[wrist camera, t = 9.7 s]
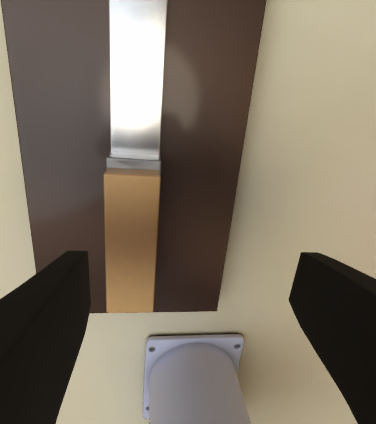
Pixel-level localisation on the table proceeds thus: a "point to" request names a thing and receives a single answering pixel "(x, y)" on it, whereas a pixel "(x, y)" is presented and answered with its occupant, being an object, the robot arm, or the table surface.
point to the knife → (134, 152)
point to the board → (101, 140)
